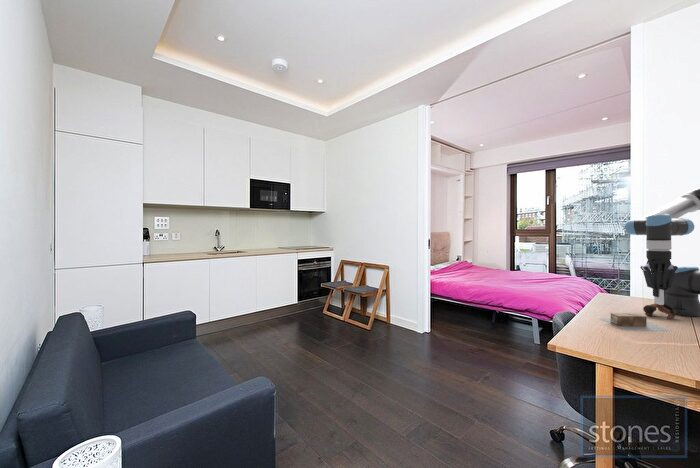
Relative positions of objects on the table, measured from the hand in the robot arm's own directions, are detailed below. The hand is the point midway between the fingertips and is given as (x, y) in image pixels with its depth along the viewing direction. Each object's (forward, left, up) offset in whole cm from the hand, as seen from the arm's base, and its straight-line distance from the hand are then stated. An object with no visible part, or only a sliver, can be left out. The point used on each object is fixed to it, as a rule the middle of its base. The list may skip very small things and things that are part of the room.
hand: (659, 304), depth 129 cm
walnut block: (+7, 0, -7) cm, 10 cm away
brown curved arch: (-11, -14, -10) cm, 21 cm away
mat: (+10, -1, -10) cm, 14 cm away
